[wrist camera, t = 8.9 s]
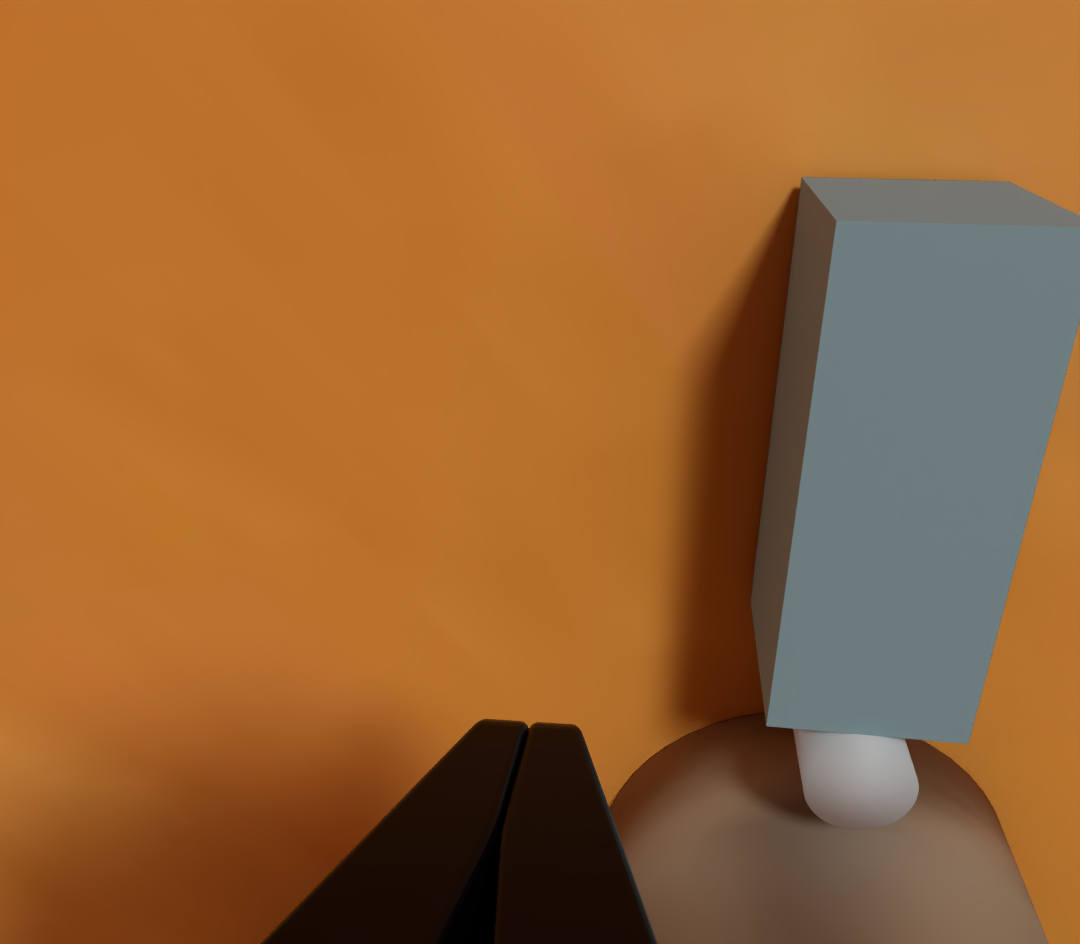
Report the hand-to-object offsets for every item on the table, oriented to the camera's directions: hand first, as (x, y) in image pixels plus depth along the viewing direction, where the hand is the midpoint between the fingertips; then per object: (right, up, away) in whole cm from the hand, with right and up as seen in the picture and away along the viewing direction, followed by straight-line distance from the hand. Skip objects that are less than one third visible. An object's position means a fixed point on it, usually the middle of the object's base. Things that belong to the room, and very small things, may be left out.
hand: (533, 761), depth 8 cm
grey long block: (+6, +3, +11) cm, 13 cm away
